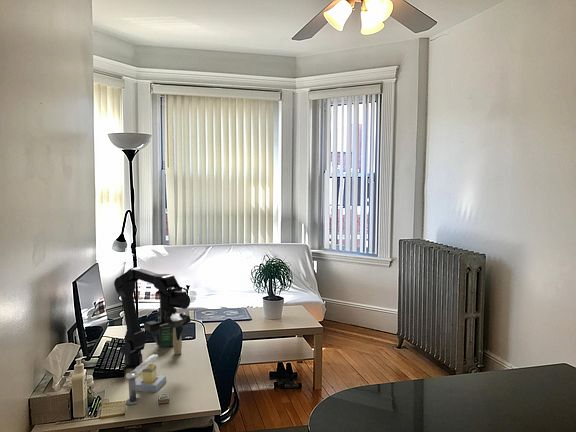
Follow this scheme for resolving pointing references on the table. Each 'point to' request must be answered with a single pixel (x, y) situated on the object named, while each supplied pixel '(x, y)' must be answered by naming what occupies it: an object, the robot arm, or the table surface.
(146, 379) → the plug
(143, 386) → the socket
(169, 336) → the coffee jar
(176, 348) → the handle
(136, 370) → the silver metal plank
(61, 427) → the table surface
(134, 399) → the post
